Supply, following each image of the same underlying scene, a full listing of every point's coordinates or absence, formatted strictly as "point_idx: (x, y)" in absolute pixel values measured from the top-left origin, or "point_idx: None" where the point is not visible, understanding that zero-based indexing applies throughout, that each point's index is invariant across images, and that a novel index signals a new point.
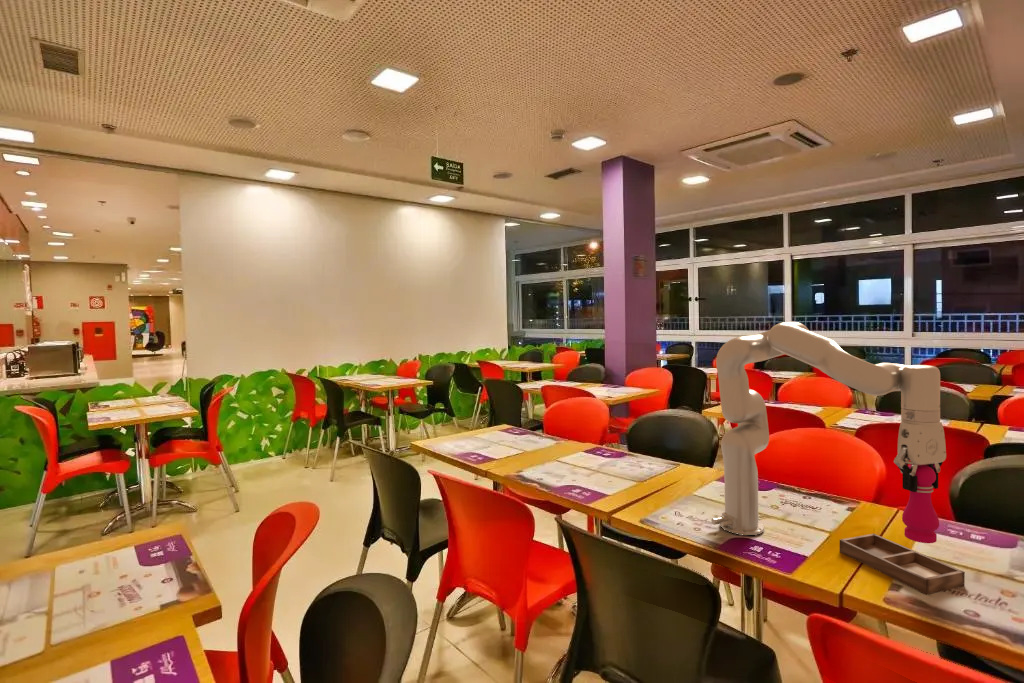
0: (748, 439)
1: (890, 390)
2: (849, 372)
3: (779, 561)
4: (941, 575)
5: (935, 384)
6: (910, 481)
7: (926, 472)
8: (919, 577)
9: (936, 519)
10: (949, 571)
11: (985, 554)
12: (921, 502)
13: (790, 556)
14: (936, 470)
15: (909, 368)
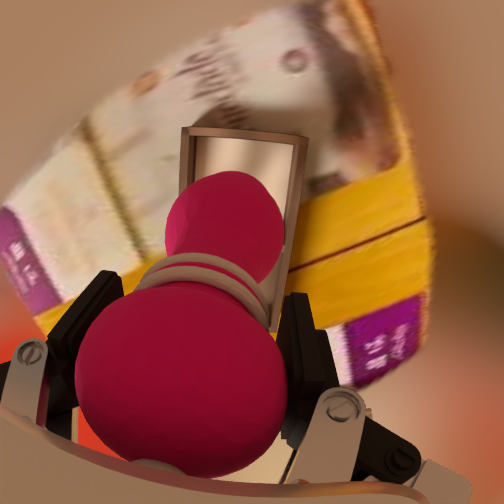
0: None
1: None
2: None
3: (394, 325)
4: (251, 135)
5: None
6: (329, 359)
7: (214, 384)
8: (305, 153)
9: (211, 184)
10: (190, 154)
11: (44, 204)
12: (248, 251)
13: (365, 332)
14: (46, 358)
15: None
